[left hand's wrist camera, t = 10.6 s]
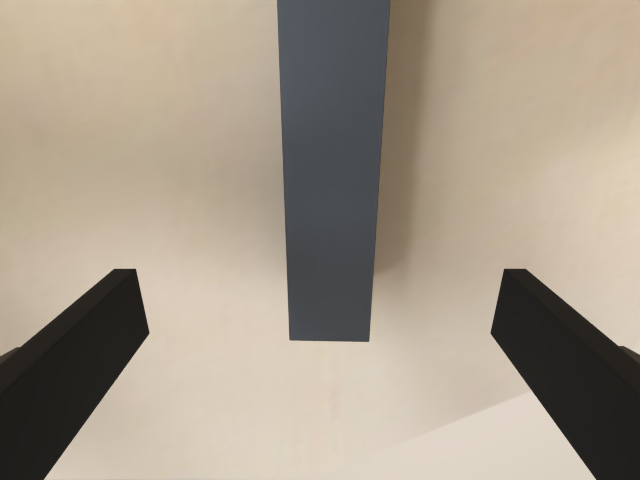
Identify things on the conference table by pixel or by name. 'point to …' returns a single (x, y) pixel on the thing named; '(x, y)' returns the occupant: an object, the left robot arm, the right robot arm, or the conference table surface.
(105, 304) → the left robot arm
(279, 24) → the beam
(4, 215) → the conference table surface
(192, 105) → the conference table surface
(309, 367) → the conference table surface
